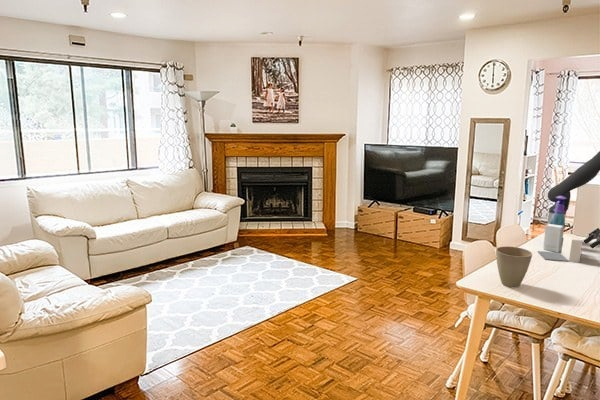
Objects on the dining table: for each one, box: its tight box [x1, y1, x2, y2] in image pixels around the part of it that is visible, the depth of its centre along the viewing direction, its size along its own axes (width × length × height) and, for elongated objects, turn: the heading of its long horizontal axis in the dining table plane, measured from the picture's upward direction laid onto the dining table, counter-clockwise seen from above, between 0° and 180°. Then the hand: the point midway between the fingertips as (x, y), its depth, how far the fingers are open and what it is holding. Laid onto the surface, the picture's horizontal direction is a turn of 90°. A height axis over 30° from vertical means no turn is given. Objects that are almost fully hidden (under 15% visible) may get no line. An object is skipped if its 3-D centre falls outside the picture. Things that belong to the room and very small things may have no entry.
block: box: [560, 233, 583, 263], centre depth 242 cm, size 12×5×12 cm, turn 167°
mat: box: [537, 250, 570, 263], centre depth 245 cm, size 14×11×1 cm
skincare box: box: [542, 223, 565, 253], centre depth 256 cm, size 8×6×15 cm
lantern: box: [550, 196, 566, 245], centre depth 265 cm, size 13×12×30 cm
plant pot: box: [495, 245, 533, 288], centre depth 203 cm, size 15×15×16 cm
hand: (587, 244), depth 240 cm, fingers open, 8 cm apart
